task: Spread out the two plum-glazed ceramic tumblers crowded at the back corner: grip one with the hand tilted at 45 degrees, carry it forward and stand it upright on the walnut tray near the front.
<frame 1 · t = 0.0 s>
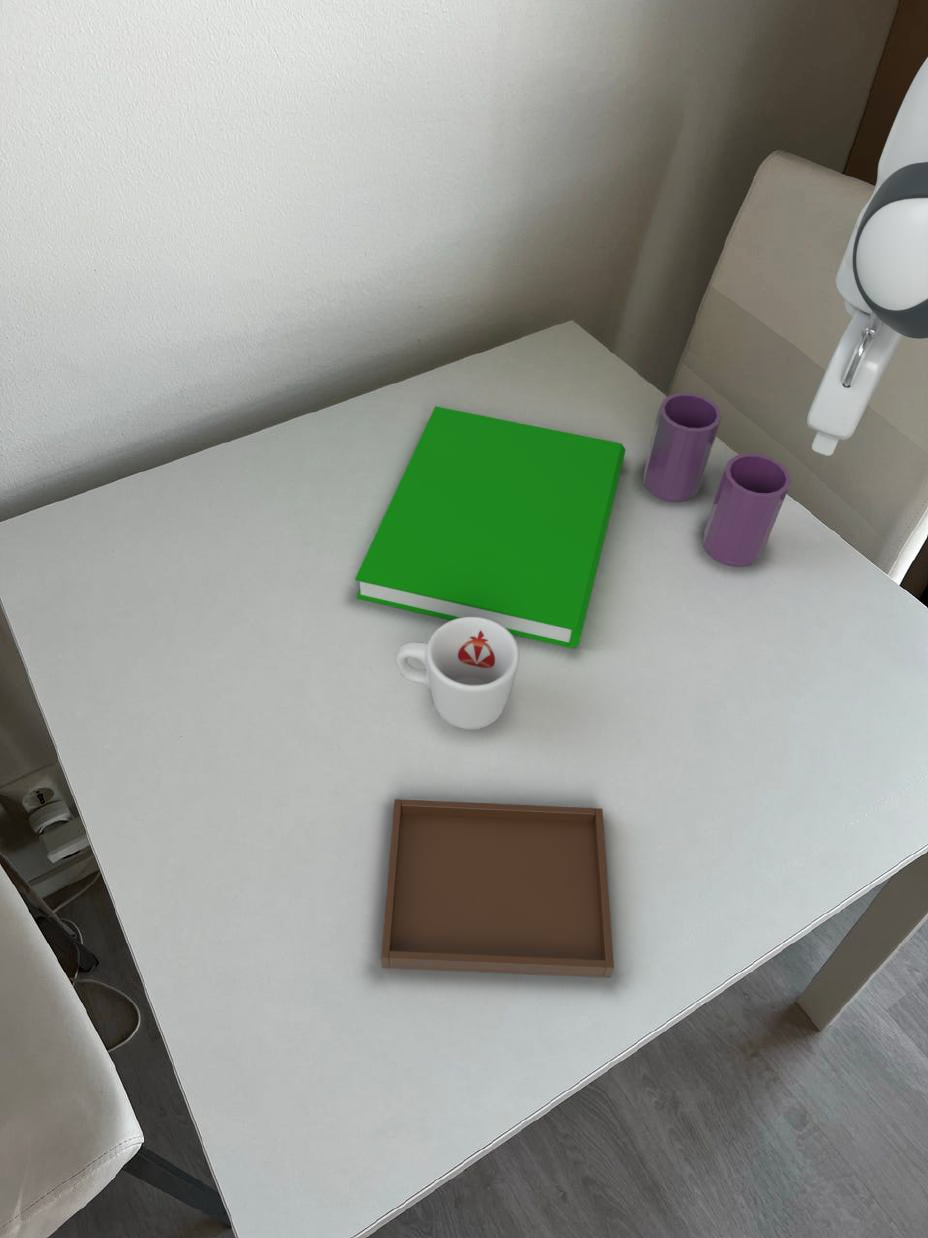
hand: (838, 419, 82), 21 cm above the table, tool pointing down, fingers open, 8 cm apart
cup: (454, 702, 87), on the table
walnut tray: (496, 889, 75), on the table
book: (498, 528, 102), on the table
plum tumbler: (732, 544, 101), on the table
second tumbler: (670, 482, 107), on the table
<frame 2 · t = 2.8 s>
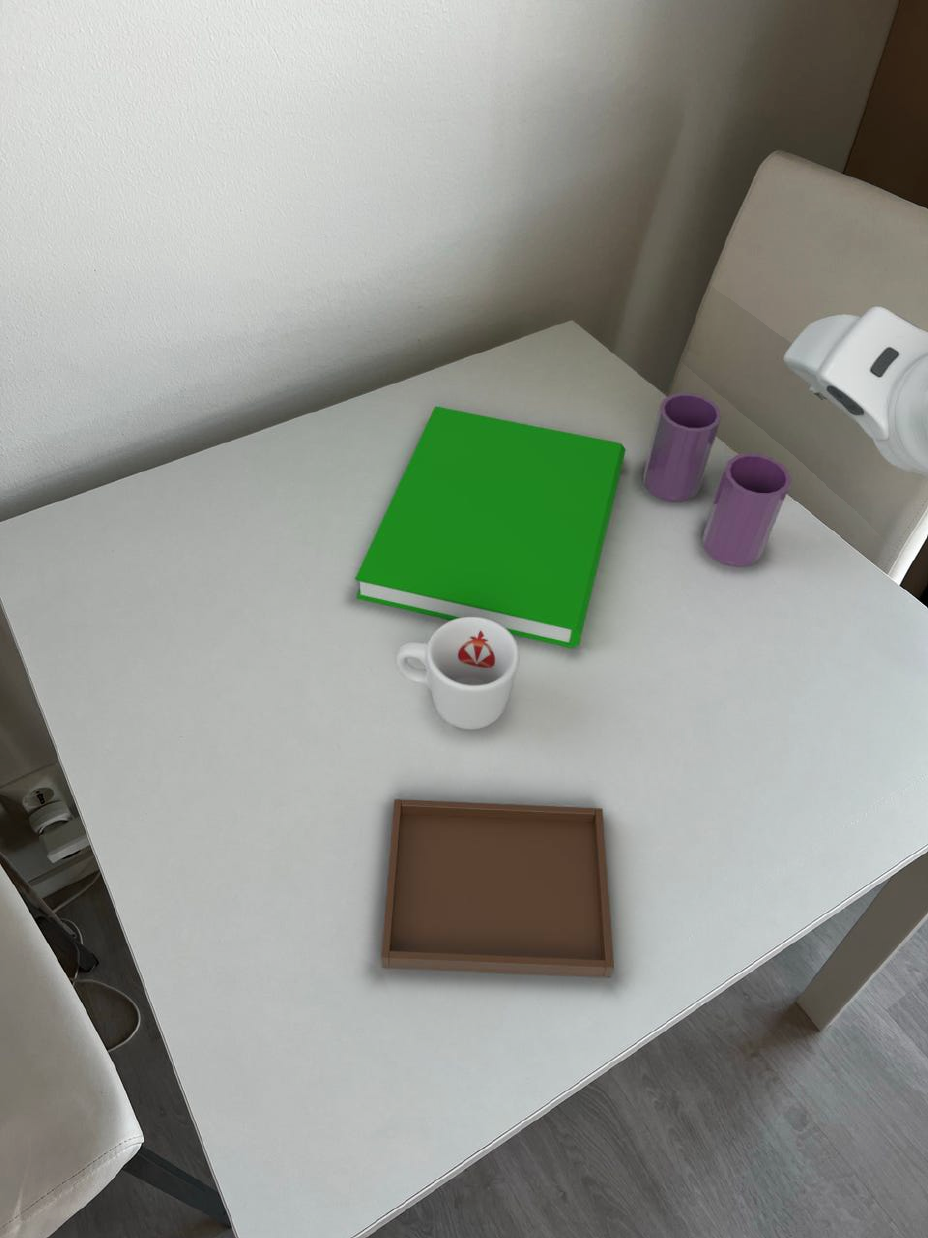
hand: (862, 420, 82), 21 cm above the table, tool tilted 50°, fingers open, 8 cm apart
nothing on the table moved.
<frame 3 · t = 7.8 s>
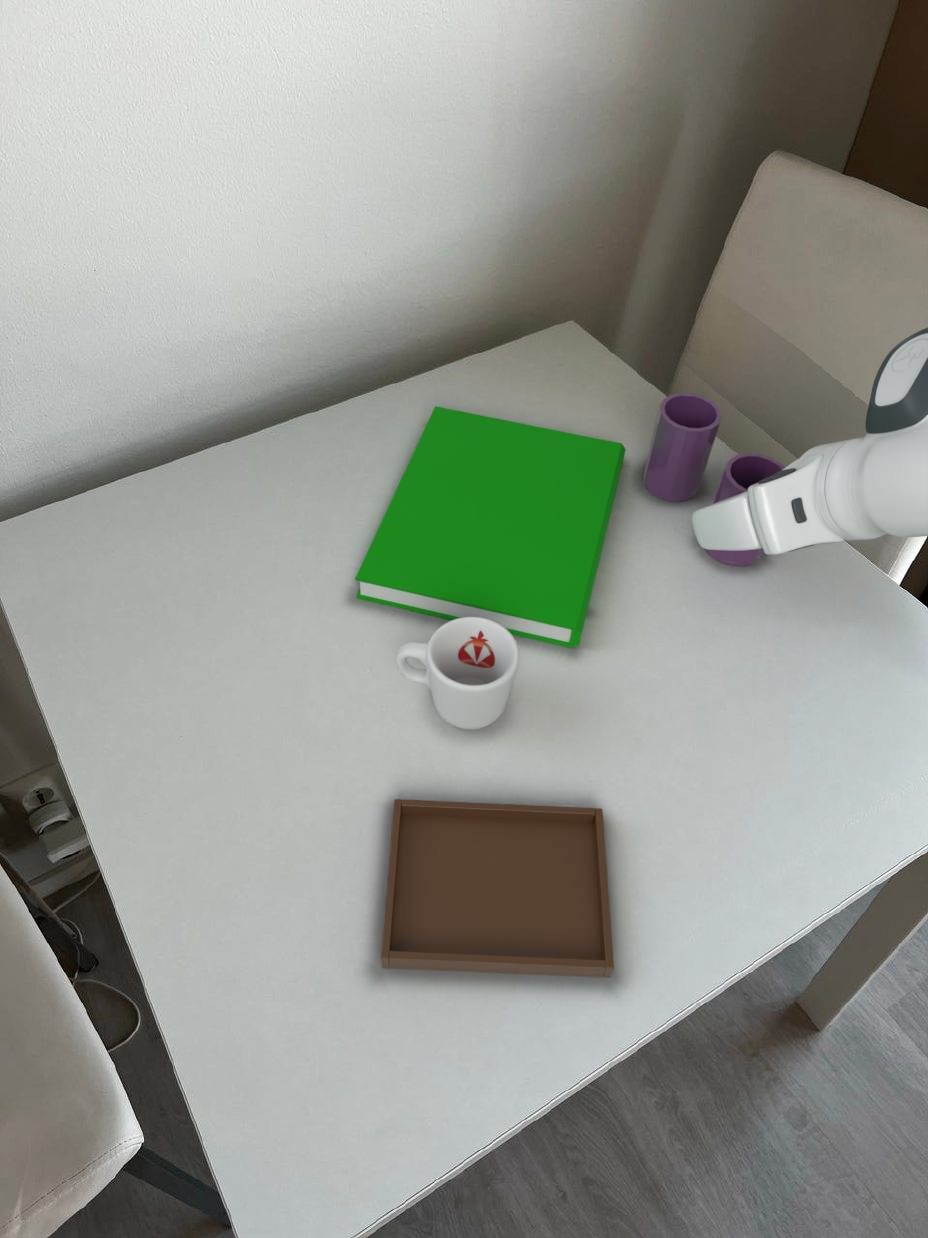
hand: (741, 503, 98), 5 cm above the table, tool tilted 45°, fingers closed on plum tumbler, 6 cm apart
plum tumbler: (731, 544, 101), on the table, touching gripper
everything else where it was.
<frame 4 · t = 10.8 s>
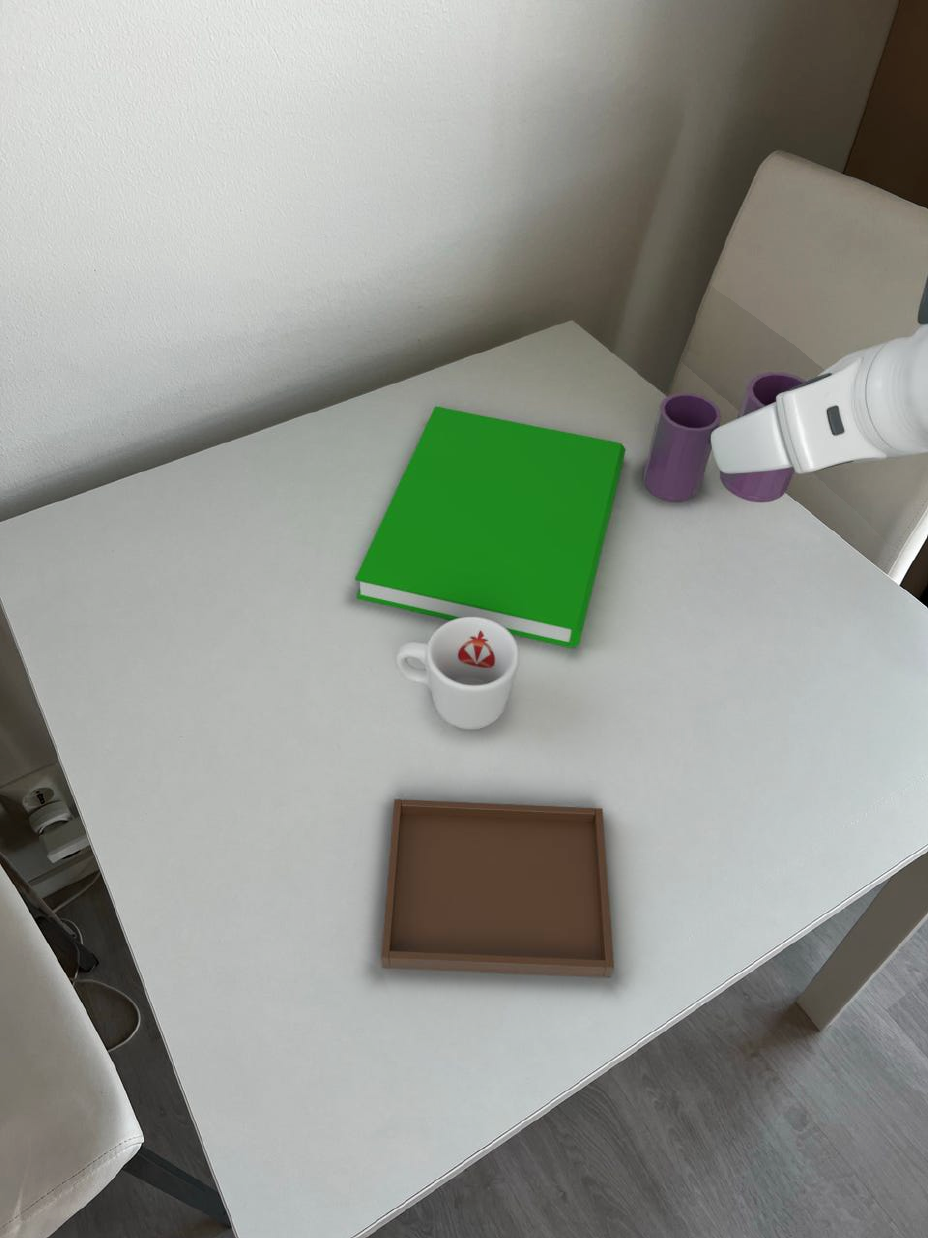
hand: (764, 430, 87), 17 cm above the table, tool tilted 45°, fingers closed on plum tumbler, 6 cm apart
plum tumbler: (753, 479, 91), point 12 cm above the table, touching gripper
everything else where it was.
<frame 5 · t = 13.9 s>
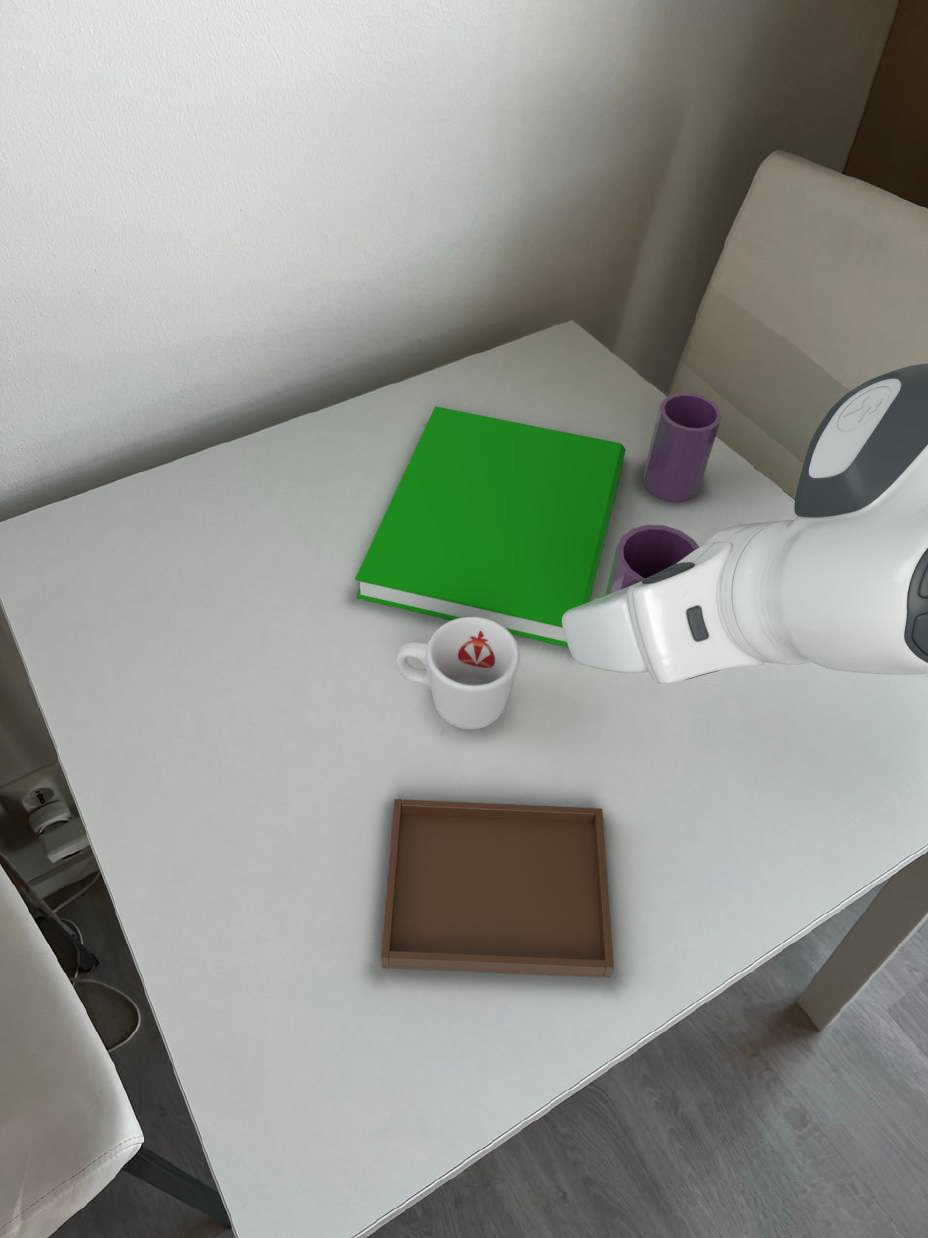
hand: (643, 590, 73), 17 cm above the table, tool tilted 45°, fingers closed on plum tumbler, 6 cm apart
plum tumbler: (636, 640, 77), point 12 cm above the table, touching gripper
everything else where it was.
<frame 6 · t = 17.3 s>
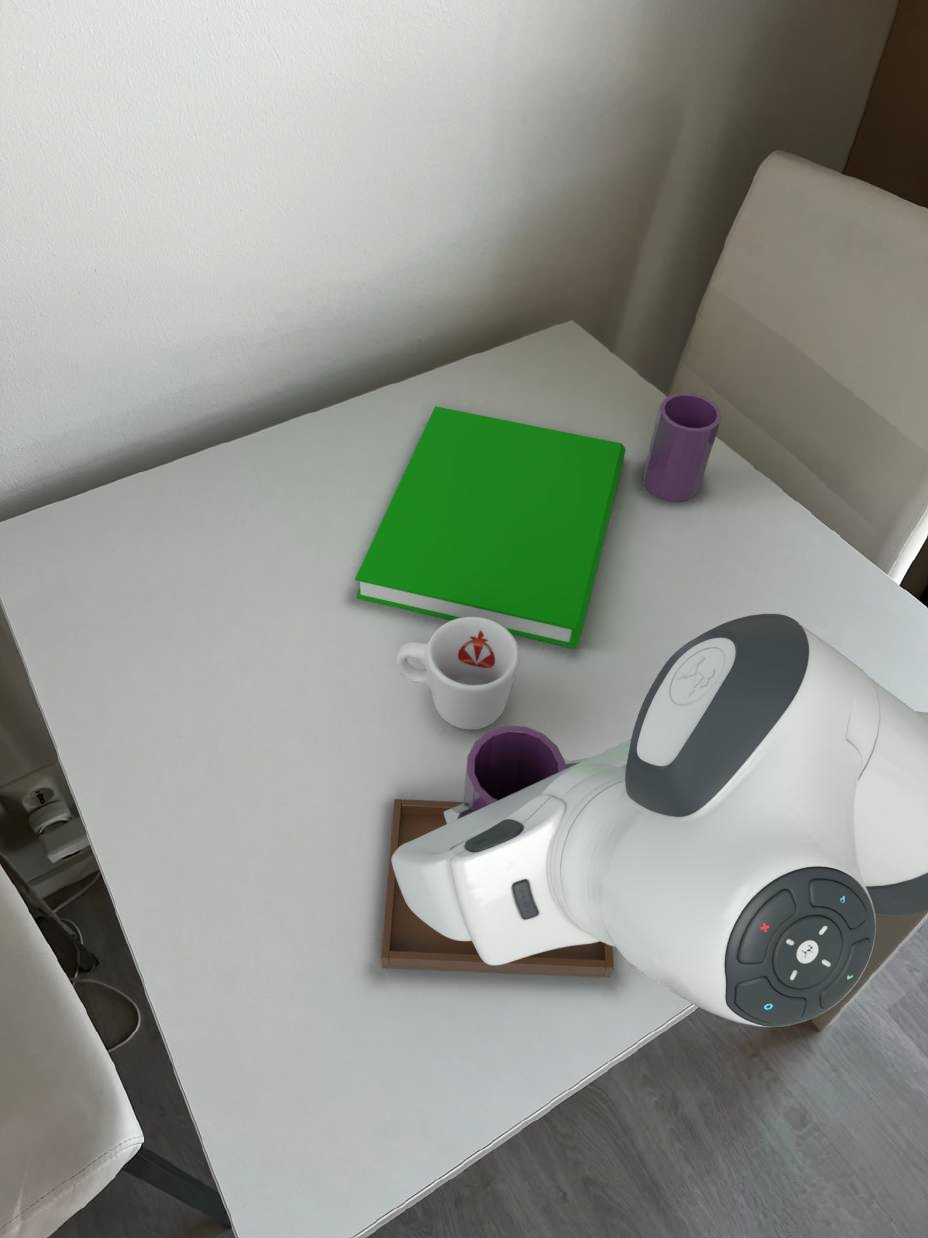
hand: (505, 794, 65), 14 cm above the table, tool tilted 45°, fingers closed on plum tumbler, 6 cm apart
plum tumbler: (504, 838, 69), point 8 cm above the table, touching gripper
everything else where it was.
when the fingers open (6 cm above the table, at t = 20.1 s): plum tumbler stays where it is, resting on walnut tray.
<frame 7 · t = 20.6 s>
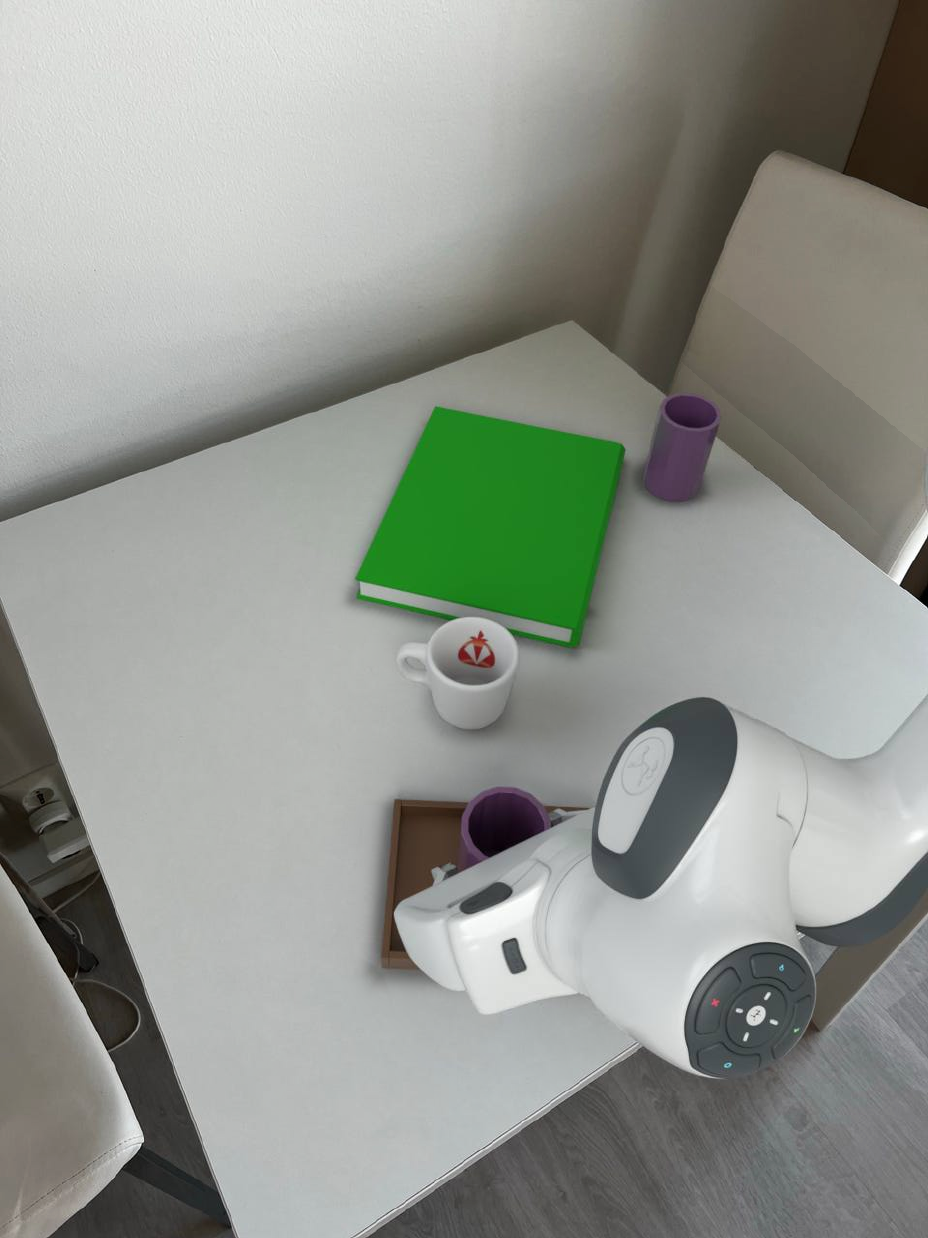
hand: (498, 847, 71), 6 cm above the table, tool tilted 45°, fingers open, 8 cm apart
plum tumbler: (497, 885, 75), resting on walnut tray
everything else where it was.
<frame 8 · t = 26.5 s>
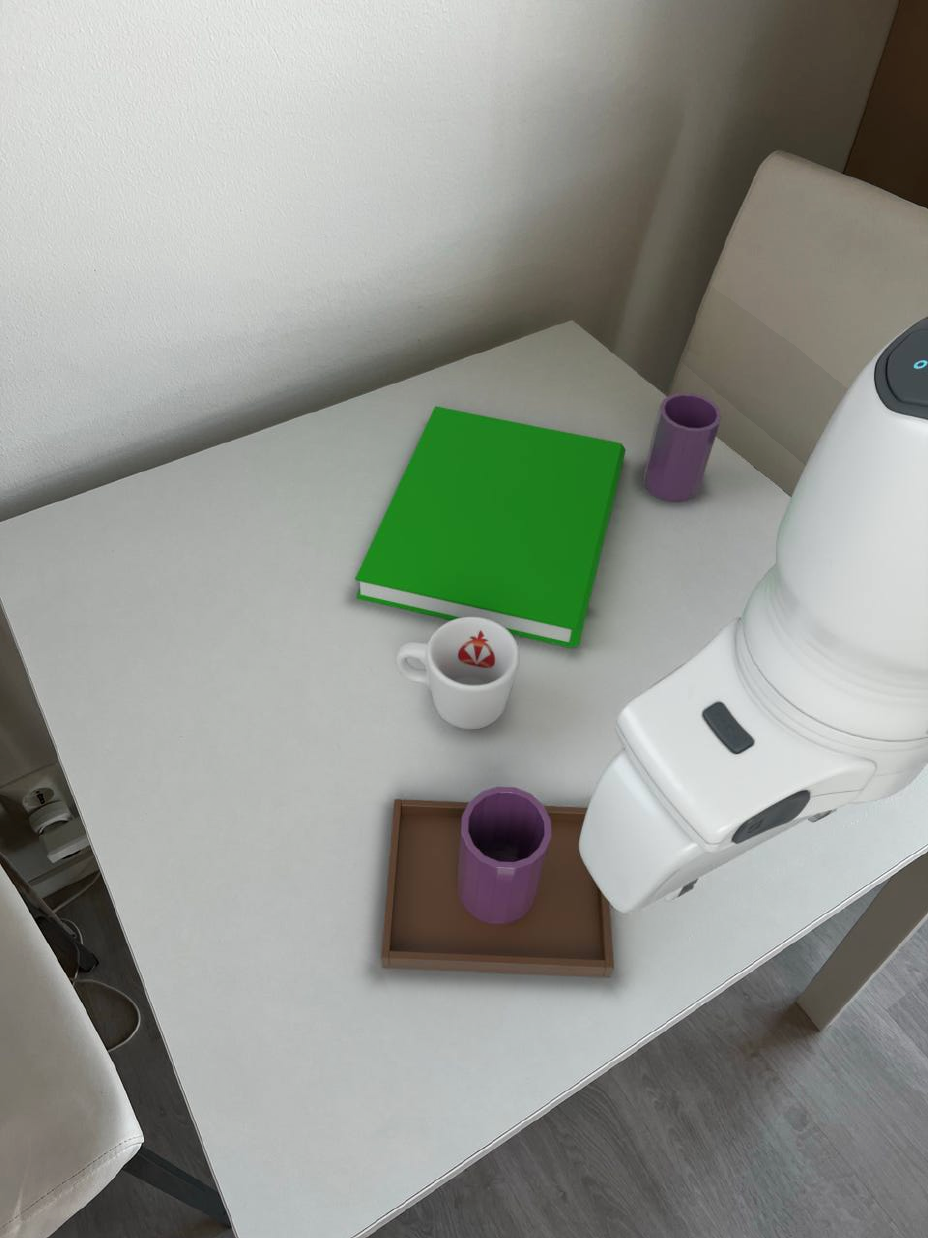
hand: (742, 844, 49), 27 cm above the table, tool pointing down, fingers open, 8 cm apart
nothing on the table moved.
at the end: plum tumbler inside the target area in the walnut tray (0.1 cm from its centre), point 0.5 cm above the walnut tray's base; plum tumbler tilted 0°; the gripper is holding nothing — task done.
